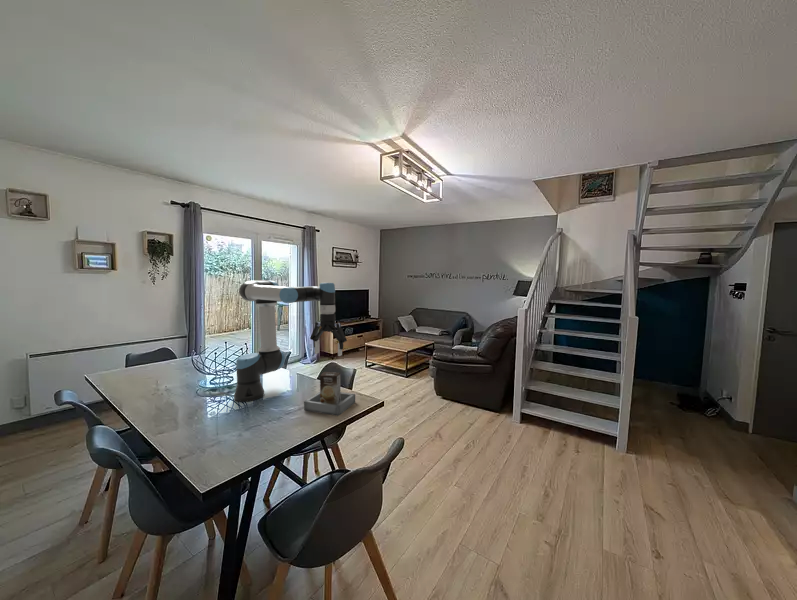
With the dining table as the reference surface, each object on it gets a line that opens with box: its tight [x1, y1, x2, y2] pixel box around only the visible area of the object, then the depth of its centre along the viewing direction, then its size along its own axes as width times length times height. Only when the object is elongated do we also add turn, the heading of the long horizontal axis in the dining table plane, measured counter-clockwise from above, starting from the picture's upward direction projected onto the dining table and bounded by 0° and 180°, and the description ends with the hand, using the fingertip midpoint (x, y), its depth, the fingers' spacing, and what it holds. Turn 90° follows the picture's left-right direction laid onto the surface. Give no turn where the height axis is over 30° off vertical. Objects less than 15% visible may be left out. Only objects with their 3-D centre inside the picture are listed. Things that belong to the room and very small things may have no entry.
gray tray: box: [303, 391, 356, 417], centre depth 156 cm, size 20×17×4 cm
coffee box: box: [319, 371, 341, 405], centre depth 156 cm, size 9×6×16 cm
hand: (328, 354), depth 155 cm, fingers open, 13 cm apart
